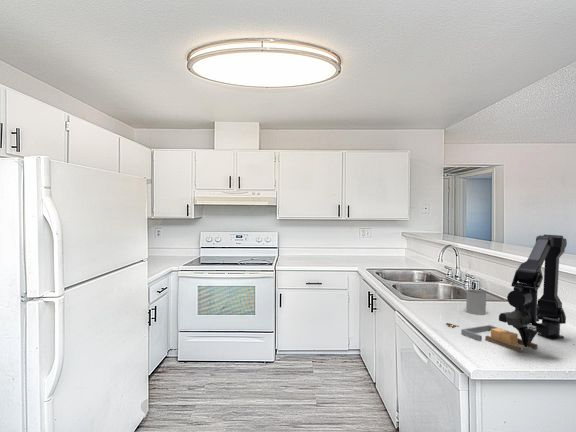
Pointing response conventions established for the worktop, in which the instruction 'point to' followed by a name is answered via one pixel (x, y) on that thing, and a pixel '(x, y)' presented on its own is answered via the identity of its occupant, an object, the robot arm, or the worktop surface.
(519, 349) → the slot guide
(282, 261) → the worktop surface
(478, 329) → the tray
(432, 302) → the worktop surface
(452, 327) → the hand saw
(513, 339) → the block
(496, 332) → the block
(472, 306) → the cup
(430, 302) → the worktop surface
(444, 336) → the worktop surface
